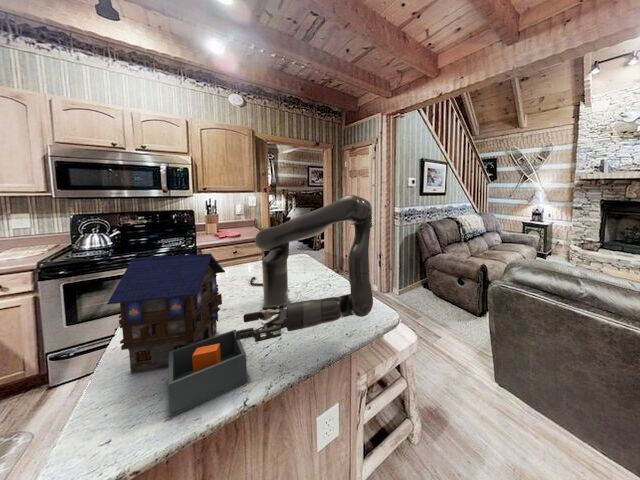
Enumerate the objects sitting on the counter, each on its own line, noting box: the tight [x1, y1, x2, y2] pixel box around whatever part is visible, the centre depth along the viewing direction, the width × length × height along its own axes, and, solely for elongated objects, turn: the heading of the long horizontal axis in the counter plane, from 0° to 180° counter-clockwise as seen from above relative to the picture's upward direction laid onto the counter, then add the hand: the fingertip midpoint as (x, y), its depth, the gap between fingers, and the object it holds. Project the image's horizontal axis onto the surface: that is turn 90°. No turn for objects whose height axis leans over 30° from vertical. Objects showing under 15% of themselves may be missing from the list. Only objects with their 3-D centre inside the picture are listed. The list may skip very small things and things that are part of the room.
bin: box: [167, 329, 248, 418], centre depth 66 cm, size 15×15×8 cm
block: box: [192, 343, 221, 373], centre depth 66 cm, size 3×5×8 cm, turn 113°
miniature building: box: [106, 252, 226, 374], centre depth 76 cm, size 19×21×30 cm
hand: (240, 326), depth 68 cm, fingers open, 8 cm apart
